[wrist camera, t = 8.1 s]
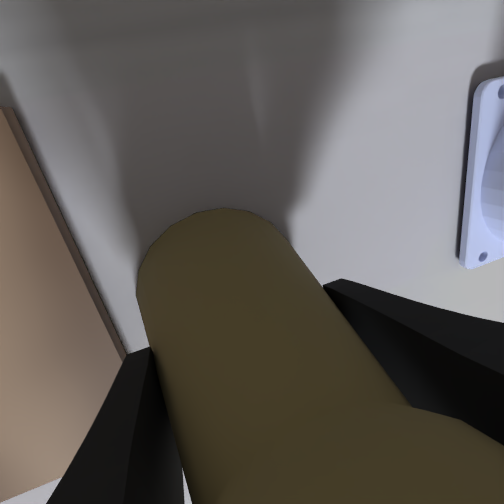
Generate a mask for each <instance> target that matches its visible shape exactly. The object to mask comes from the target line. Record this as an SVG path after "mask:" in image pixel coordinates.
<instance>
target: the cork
mask: <svg viewBox="0 0 504 504" xmlns="http://www.w3.org/2000/svg"><path fill="white" fill-rule="evenodd" d="M136 298H137V301H138V305H139V309H140V312H141V316H142V320H143V323H144V327H145V331H146V335H147V338H148V342H149V346H150V347H151V349H152V351H153V355H154V362H155V368H156V372H157V375H158V379H159V383H160V386H161V390H162V394H163V397H164V401H165V405H166V409H167V412H168V416H169V420H170V423H171V427H172V431H173V434H174V438H175V442H176V446H177V449H178V453H179V457H180V460H181V464H182V468H183V471H184V475H185V479H186V483H187V486H188V490H189V494H190V497H191V501H192V504H504V446H503V445H502V444H500V443H498V442H497V441H495V440H493V439H492V438H490V437H488V436H487V435H485V434H483V433H482V432H480V431H478V430H477V429H475V428H473V427H472V426H470V425H468V424H467V423H465V422H463V421H462V420H459V419H455V418H452V417H448V416H444V415H441V414H437V413H433V412H430V411H426V410H422V409H417V408H413V407H412V406H411V405H410V403H409V402H408V401H407V399H406V398H405V397H404V395H403V394H402V393H401V391H400V390H399V389H398V387H397V386H396V385H395V383H394V382H393V381H392V379H391V378H390V377H389V375H388V374H387V373H386V371H385V370H384V369H383V367H382V366H381V365H380V363H379V362H378V361H377V359H376V358H375V357H374V355H373V354H372V353H371V351H370V350H369V349H368V347H367V346H366V345H365V343H364V342H363V341H362V339H361V338H360V337H359V335H358V334H357V333H356V331H355V330H354V329H353V327H352V326H351V325H350V323H349V322H348V321H347V319H346V318H345V317H344V315H343V314H342V313H341V311H340V310H339V309H338V307H337V306H336V305H335V303H334V302H333V301H332V299H331V298H330V297H329V295H328V294H327V293H326V291H325V290H324V289H323V287H322V286H321V285H320V283H319V282H318V281H317V279H316V278H315V277H314V275H313V274H312V273H311V271H310V270H309V269H308V267H307V266H306V265H305V263H304V262H303V261H302V259H301V258H300V257H299V255H298V254H297V253H296V251H295V250H294V249H293V247H292V246H291V245H290V243H289V242H288V241H287V239H286V238H285V237H284V236H283V235H282V234H281V233H280V232H279V231H278V230H277V229H276V227H275V226H274V225H273V224H272V223H271V222H269V221H267V220H265V219H263V218H261V217H259V216H257V215H255V214H253V213H251V212H249V211H242V210H235V209H228V208H220V209H215V210H209V211H203V212H198V213H195V214H193V215H191V216H189V217H187V218H185V219H183V220H181V221H179V222H177V223H176V224H174V225H172V226H170V227H169V228H168V229H167V230H166V231H165V232H164V233H163V234H162V235H161V236H160V237H159V238H158V239H157V240H156V241H155V242H154V243H153V244H152V245H151V246H150V248H149V250H148V252H147V254H146V256H145V259H144V261H143V263H142V265H141V267H140V269H139V272H138V281H137V290H136Z"/></svg>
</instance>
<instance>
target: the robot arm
mask: <svg viewBox="0 0 504 504" xmlns="http://www.w3.org/2000/svg"><path fill="white" fill-rule="evenodd" d="M502 257H504V76H501V77H497V78H493V79H489V80H485V81H483V82H481V83H480V84H479V86H478V87H477V89H476V91H475V93H474V98H473V109H472V121H471V132H470V143H469V155H468V166H467V177H466V189H465V200H464V211H463V223H462V234H461V245H460V257H459V262H460V265H461V266H462V267H465V268H467V269H474V268H476V267H479V266H481V265H484V264H487V263H489V262H492V261H494V260H497V259H500V258H502ZM323 289H324V290H325V291H326V293H327V294H328V295H329V297H330V298H331V299H332V301H333V302H334V303H335V305H336V306H337V307H338V309H339V310H340V311H341V313H342V314H343V315H344V317H345V318H346V319H347V321H348V322H349V323H350V325H351V326H352V327H353V329H354V330H355V331H356V333H357V334H358V335H359V337H360V338H361V339H362V341H363V342H364V343H365V345H366V346H367V347H368V349H369V350H370V351H371V353H372V354H373V355H374V357H375V358H376V359H377V361H378V362H379V363H380V365H381V366H382V367H383V369H384V370H385V371H386V373H387V374H388V375H389V377H390V378H391V379H392V381H393V382H394V383H395V385H396V386H397V387H398V389H399V390H400V391H401V393H402V394H403V395H404V397H405V398H406V399H407V401H408V402H409V403H410V405H411V406H412V407H413V408H417V409H422V410H426V411H430V412H433V413H437V414H441V415H444V416H448V417H452V418H455V419H459V420H462V421H463V422H465V423H467V424H468V425H470V426H472V427H473V428H475V429H477V430H478V431H480V432H482V433H483V434H485V435H487V436H488V437H490V438H492V439H493V440H495V441H497V442H498V443H500V444H502V445H503V446H504V323H502V322H497V321H492V320H487V319H482V318H477V317H473V316H469V315H464V314H460V313H457V312H453V311H449V310H445V309H441V308H437V307H434V306H430V305H427V304H423V303H420V302H416V301H413V300H410V299H407V298H403V297H400V296H397V295H394V294H391V293H387V292H384V291H381V290H378V289H375V288H372V287H369V286H366V285H363V284H359V283H356V282H353V281H349V280H345V279H339V280H336V281H333V282H330V283H327V284H325V285H323ZM46 504H184V488H183V472H182V464H181V460H180V457H179V453H178V449H177V446H176V442H175V438H174V434H173V431H172V427H171V423H170V420H169V416H168V412H167V409H166V405H165V401H164V397H163V394H162V390H161V386H160V383H159V379H158V375H157V372H156V368H155V362H154V355H153V351H152V349H151V347H147V348H144V349H142V350H139V351H136V352H133V353H130V354H128V355H126V357H125V359H124V360H123V362H122V365H121V367H120V369H119V371H118V373H117V375H116V377H115V379H114V382H113V384H112V386H111V388H110V390H109V392H108V394H107V396H106V398H105V400H104V402H103V404H102V406H101V408H100V410H99V412H98V414H97V416H96V418H95V420H94V422H93V424H92V425H91V427H90V429H89V431H88V433H87V435H86V437H85V439H84V440H83V442H82V444H81V446H80V447H79V449H78V451H77V453H76V454H75V456H74V458H73V460H72V461H71V463H70V465H69V467H68V468H67V470H66V472H65V474H64V475H63V477H62V479H61V480H60V482H59V484H58V485H57V487H56V489H55V490H54V492H53V493H52V495H51V497H50V498H49V500H48V501H47V503H46Z"/></svg>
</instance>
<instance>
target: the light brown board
mask: <svg viewBox="0 0 504 504" xmlns="http://www.w3.org/2000/svg"><path fill="white" fill-rule="evenodd" d="M125 357H126V352H125V350H124V348H123V346H122V344H121V342H120V340H119V337H118V335H117V333H116V331H115V329H114V327H113V324H112V322H111V320H110V318H109V316H108V314H107V312H106V309H105V307H104V305H103V303H102V301H101V299H100V296H99V294H98V292H97V290H96V288H95V286H94V284H93V281H92V279H91V277H90V275H89V273H88V271H87V268H86V266H85V264H84V262H83V260H82V258H81V256H80V253H79V251H78V249H77V247H76V245H75V243H74V241H73V238H72V236H71V234H70V232H69V230H68V228H67V225H66V223H65V221H64V219H63V217H62V215H61V213H60V210H59V208H58V206H57V204H56V202H55V200H54V197H53V195H52V193H51V191H50V189H49V187H48V185H47V182H46V180H45V178H44V176H43V174H42V172H41V169H40V167H39V165H38V163H37V161H36V159H35V157H34V154H33V152H32V150H31V148H30V146H29V144H28V141H27V139H26V137H25V135H24V133H23V131H22V129H21V126H20V124H19V122H18V120H17V118H16V116H15V114H14V111H13V109H12V108H10V107H2V106H0V502H3V501H5V500H8V499H10V498H12V497H15V496H17V495H20V494H22V493H25V492H27V491H29V490H32V489H34V488H37V487H39V486H41V485H44V484H46V483H49V482H51V481H53V480H56V479H58V478H61V477H63V475H64V474H65V472H66V470H67V468H68V467H69V465H70V463H71V461H72V460H73V458H74V456H75V454H76V453H77V451H78V449H79V447H80V446H81V444H82V442H83V440H84V439H85V437H86V435H87V433H88V431H89V429H90V427H91V425H92V424H93V422H94V420H95V418H96V416H97V414H98V412H99V410H100V408H101V406H102V404H103V402H104V400H105V398H106V396H107V394H108V392H109V390H110V388H111V386H112V384H113V382H114V379H115V377H116V375H117V373H118V371H119V369H120V367H121V365H122V362H123V360H124V359H125Z"/></svg>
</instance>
